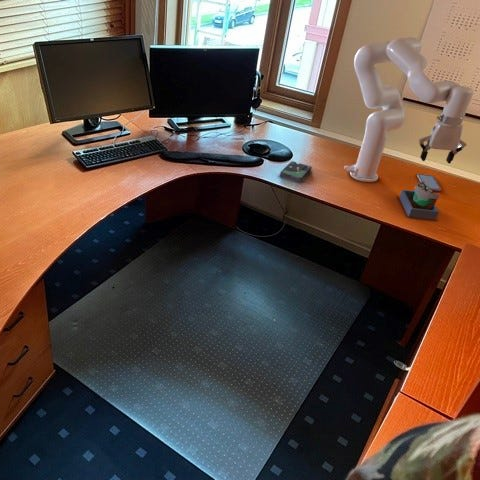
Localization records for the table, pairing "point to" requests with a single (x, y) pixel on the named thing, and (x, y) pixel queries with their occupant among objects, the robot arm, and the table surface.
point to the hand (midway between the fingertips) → (435, 160)
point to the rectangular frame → (416, 212)
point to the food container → (424, 197)
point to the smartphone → (429, 181)
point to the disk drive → (295, 171)
